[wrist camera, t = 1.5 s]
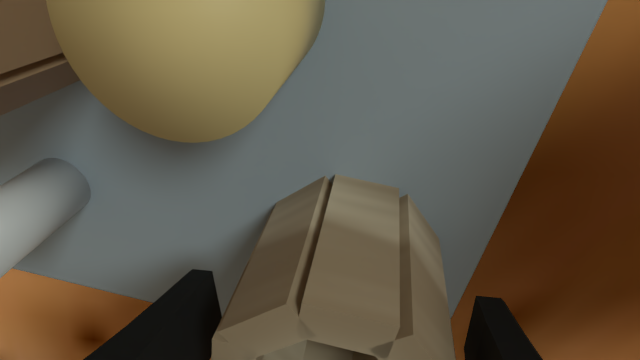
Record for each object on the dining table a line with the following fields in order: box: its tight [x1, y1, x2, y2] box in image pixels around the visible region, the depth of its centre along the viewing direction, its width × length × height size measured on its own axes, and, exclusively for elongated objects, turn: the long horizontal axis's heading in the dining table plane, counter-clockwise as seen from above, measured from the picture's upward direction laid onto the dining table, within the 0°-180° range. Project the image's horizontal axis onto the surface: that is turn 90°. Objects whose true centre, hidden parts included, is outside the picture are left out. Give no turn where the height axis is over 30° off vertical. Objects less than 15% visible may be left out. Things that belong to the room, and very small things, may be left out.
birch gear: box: [211, 174, 456, 360], centre depth 11 cm, size 5×5×5 cm
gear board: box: [0, 0, 607, 319], centre depth 11 cm, size 20×16×7 cm
